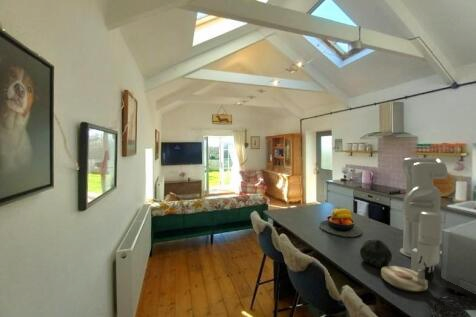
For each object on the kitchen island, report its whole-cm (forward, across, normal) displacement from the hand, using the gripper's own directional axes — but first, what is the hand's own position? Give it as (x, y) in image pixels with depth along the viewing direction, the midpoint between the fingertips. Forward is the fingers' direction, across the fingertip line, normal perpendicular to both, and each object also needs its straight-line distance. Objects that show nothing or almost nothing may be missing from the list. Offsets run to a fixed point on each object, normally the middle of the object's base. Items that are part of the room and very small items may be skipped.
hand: (427, 279), depth 103 cm
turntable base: (+5, +4, -8) cm, 10 cm away
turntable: (+3, +4, -8) cm, 9 cm away
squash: (+5, -2, -26) cm, 26 cm away
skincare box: (+5, -12, -10) cm, 16 cm away
